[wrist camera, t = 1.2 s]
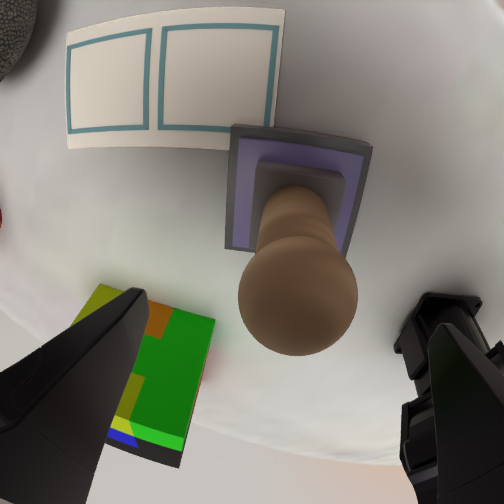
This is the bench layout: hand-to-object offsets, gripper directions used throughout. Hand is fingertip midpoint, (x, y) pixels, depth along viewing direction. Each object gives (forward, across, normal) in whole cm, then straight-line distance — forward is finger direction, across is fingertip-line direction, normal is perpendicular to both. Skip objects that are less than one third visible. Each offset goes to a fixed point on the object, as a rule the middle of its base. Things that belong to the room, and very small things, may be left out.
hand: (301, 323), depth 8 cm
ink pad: (+10, 0, 0) cm, 10 cm away
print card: (+10, +8, -6) cm, 14 cm away
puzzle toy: (+10, +10, +15) cm, 21 cm away
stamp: (+8, 0, 0) cm, 8 cm away
